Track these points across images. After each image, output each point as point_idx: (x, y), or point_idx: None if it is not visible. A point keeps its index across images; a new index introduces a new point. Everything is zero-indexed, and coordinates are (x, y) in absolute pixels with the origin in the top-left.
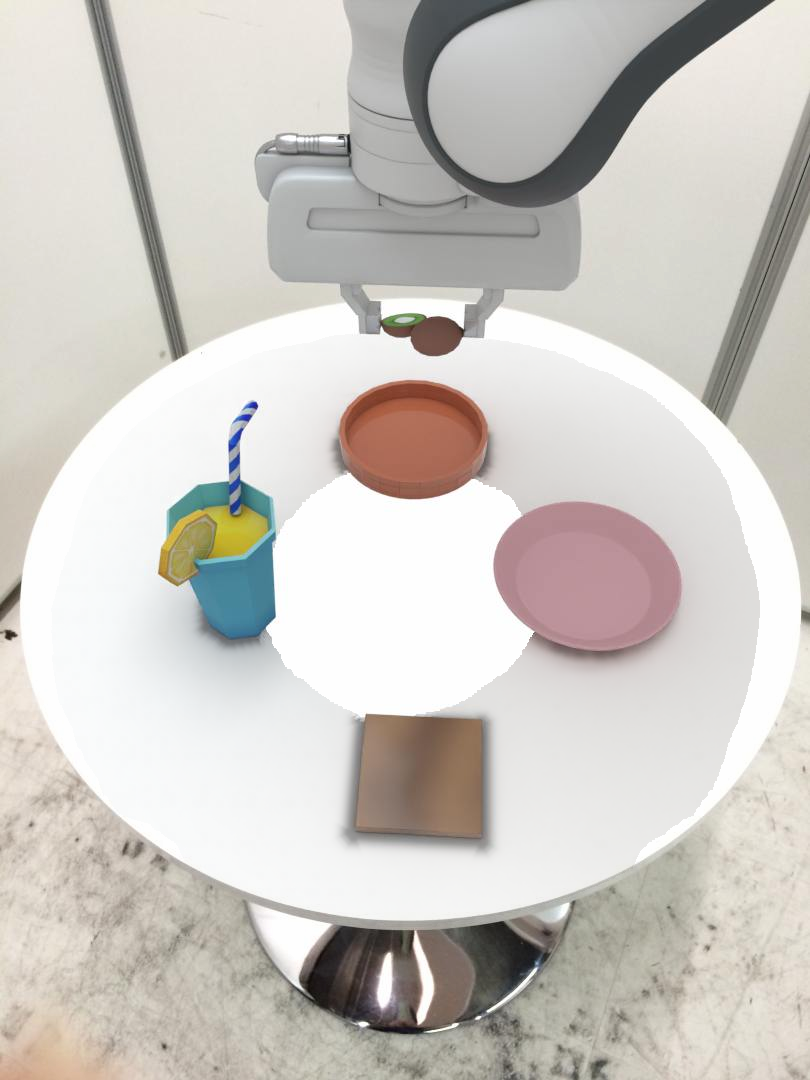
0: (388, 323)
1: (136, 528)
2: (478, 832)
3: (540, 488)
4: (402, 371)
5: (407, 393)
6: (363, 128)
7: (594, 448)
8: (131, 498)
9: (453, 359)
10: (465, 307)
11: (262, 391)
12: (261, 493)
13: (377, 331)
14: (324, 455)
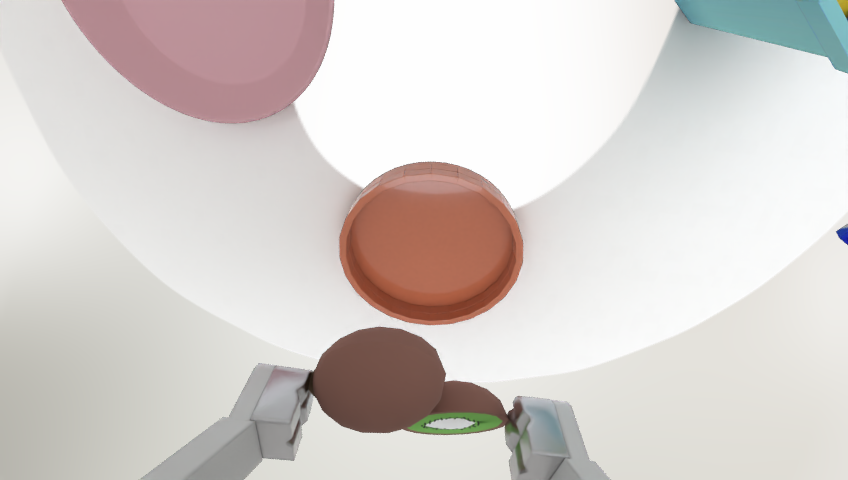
0: (491, 420)
1: (814, 144)
2: None
3: (280, 166)
4: (432, 338)
5: (430, 310)
6: None
7: (219, 221)
8: (797, 195)
9: None
10: (291, 453)
11: (586, 328)
12: (844, 17)
13: (527, 405)
14: (537, 239)
